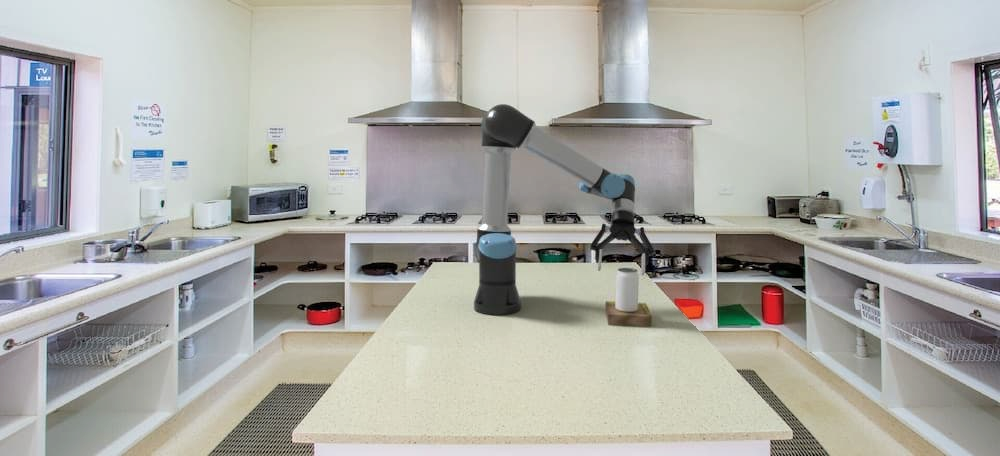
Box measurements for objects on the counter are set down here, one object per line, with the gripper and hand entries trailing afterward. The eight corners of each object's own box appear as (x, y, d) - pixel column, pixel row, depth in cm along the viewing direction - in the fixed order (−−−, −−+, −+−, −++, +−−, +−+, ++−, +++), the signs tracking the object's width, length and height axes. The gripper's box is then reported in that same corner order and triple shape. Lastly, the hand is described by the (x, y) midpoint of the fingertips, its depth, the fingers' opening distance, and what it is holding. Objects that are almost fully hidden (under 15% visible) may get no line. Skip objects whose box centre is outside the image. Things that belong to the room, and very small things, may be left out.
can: (616, 312, 145) (617, 271, 144) (614, 306, 151) (615, 267, 150) (638, 313, 144) (640, 272, 143) (636, 307, 150) (637, 268, 149)
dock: (608, 324, 143) (608, 312, 143) (605, 312, 155) (605, 301, 154) (651, 326, 141) (651, 314, 141) (645, 314, 153) (645, 302, 153)
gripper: (658, 224, 170) (659, 280, 159) (584, 218, 174) (580, 272, 163) (663, 212, 164) (664, 269, 153) (586, 205, 167) (582, 261, 156)
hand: (621, 271), depth 158 cm, fingers open, 13 cm apart
